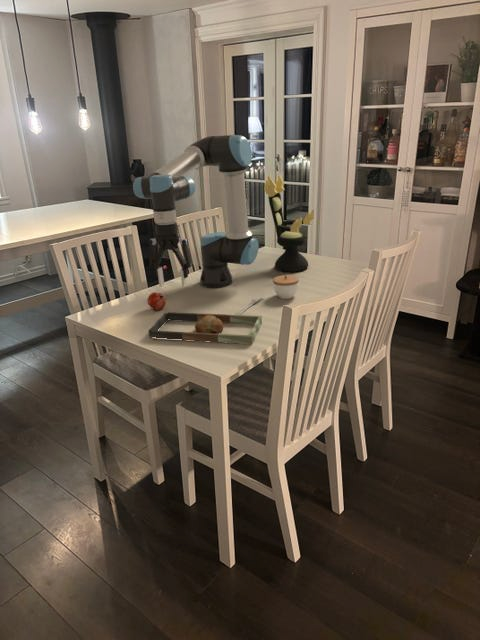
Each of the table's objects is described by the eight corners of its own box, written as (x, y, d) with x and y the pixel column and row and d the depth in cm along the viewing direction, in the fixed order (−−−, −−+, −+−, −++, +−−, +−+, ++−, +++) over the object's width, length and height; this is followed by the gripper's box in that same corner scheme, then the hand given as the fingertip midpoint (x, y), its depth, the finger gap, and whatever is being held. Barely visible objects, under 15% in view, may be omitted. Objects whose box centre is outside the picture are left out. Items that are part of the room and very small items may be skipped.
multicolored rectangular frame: (166, 319, 188) (165, 312, 187) (261, 323, 180) (261, 315, 178) (148, 339, 172) (147, 331, 171) (252, 344, 164) (251, 336, 162)
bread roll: (200, 346, 173) (202, 331, 167) (189, 326, 179) (191, 311, 173) (225, 340, 177) (228, 325, 171) (214, 320, 183) (216, 305, 177)
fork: (233, 320, 190) (232, 314, 189) (260, 298, 205) (259, 292, 203) (239, 322, 188) (238, 316, 187) (265, 299, 203) (265, 293, 202)
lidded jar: (297, 301, 198) (297, 279, 195) (271, 300, 201) (271, 279, 197) (299, 292, 208) (299, 271, 204) (275, 291, 210) (274, 271, 206)
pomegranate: (146, 316, 198) (157, 306, 191) (140, 300, 199) (150, 290, 192) (161, 312, 203) (172, 302, 196) (155, 297, 204) (165, 286, 197)
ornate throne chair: (302, 275, 229) (302, 177, 211) (259, 271, 238) (255, 177, 220) (314, 264, 244) (315, 172, 226) (273, 260, 253) (271, 172, 235)
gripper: (132, 225, 162) (142, 288, 171) (191, 224, 157) (197, 290, 166) (141, 220, 168) (150, 281, 177) (198, 219, 164) (204, 283, 173)
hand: (173, 285), depth 172 cm, fingers open, 8 cm apart
